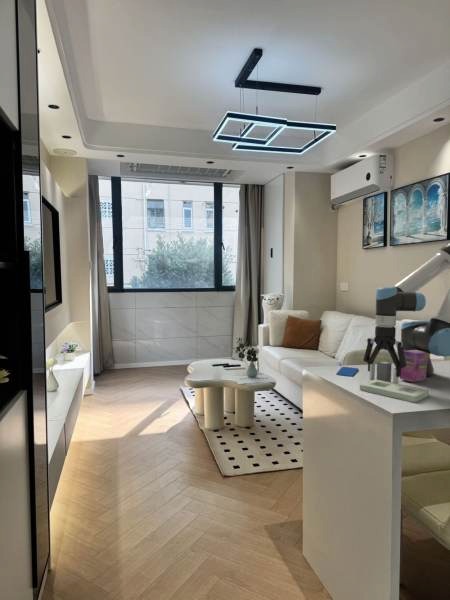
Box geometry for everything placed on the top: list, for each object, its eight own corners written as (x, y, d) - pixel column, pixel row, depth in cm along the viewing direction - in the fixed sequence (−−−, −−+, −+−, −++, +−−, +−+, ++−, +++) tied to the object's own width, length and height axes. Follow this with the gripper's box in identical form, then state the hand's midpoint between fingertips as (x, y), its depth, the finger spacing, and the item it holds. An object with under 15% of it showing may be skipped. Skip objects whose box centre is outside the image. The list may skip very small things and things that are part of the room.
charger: (381, 380, 159) (381, 361, 159) (390, 382, 156) (391, 362, 156) (376, 382, 157) (377, 362, 156) (386, 384, 154) (386, 364, 153)
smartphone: (335, 374, 169) (342, 366, 182) (335, 376, 169) (342, 368, 182) (353, 376, 165) (358, 368, 179) (353, 378, 165) (358, 370, 179)
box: (412, 382, 155) (416, 352, 155) (399, 378, 160) (402, 350, 159) (426, 380, 161) (429, 352, 161) (412, 377, 166) (415, 349, 166)
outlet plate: (375, 384, 154) (375, 378, 154) (429, 395, 139) (429, 389, 139) (359, 389, 146) (359, 384, 146) (415, 402, 131) (415, 396, 131)
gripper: (355, 324, 161) (353, 378, 162) (409, 329, 145) (407, 389, 146) (364, 323, 166) (362, 375, 167) (417, 328, 150) (415, 386, 151)
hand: (383, 382), depth 156 cm, fingers open, 9 cm apart
